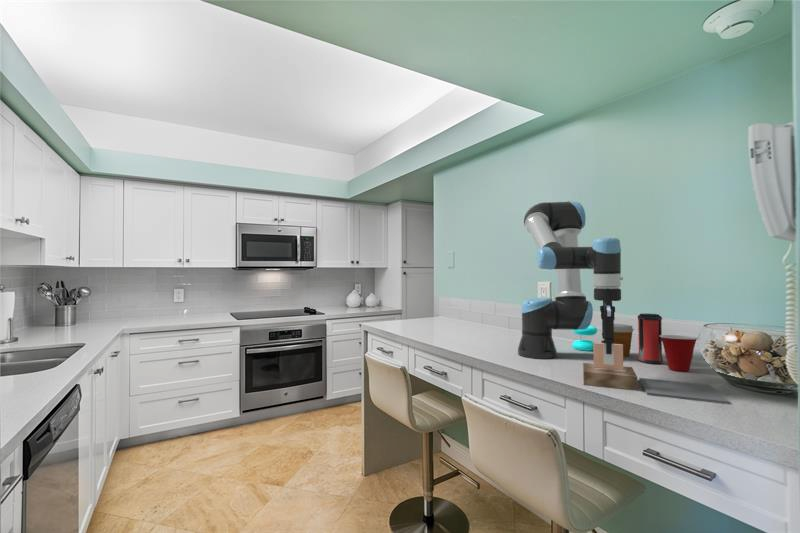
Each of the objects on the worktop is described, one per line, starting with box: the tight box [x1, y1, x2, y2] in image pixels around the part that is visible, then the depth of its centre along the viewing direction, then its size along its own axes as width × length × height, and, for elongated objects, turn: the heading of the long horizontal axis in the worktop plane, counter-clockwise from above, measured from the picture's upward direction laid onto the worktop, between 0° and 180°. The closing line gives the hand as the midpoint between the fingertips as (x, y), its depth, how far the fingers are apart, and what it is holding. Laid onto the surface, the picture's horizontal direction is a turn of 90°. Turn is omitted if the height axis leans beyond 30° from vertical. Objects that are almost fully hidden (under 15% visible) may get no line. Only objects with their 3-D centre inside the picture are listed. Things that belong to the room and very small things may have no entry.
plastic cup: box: [659, 334, 698, 373], centre depth 132 cm, size 11×11×12 cm
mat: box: [638, 377, 730, 405], centre depth 109 cm, size 18×16×1 cm
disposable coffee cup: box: [614, 323, 635, 358], centre depth 155 cm, size 10×10×12 cm
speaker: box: [637, 313, 663, 365], centre depth 143 cm, size 8×8×18 cm
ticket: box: [593, 342, 624, 370], centre depth 118 cm, size 8×1×12 cm, turn 65°
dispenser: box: [582, 362, 638, 391], centre depth 118 cm, size 14×12×4 cm
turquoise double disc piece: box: [571, 325, 598, 352], centre depth 167 cm, size 10×10×10 cm
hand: (608, 362), depth 118 cm, fingers open, 5 cm apart
